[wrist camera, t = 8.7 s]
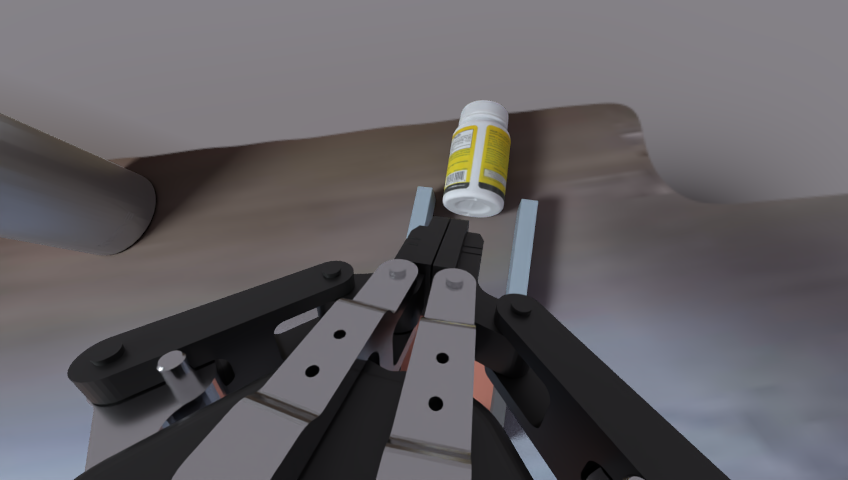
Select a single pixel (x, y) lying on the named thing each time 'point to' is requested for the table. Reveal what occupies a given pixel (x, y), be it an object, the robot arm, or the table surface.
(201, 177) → the table surface
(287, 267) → the table surface
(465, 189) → the supplement bottle
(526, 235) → the trough
